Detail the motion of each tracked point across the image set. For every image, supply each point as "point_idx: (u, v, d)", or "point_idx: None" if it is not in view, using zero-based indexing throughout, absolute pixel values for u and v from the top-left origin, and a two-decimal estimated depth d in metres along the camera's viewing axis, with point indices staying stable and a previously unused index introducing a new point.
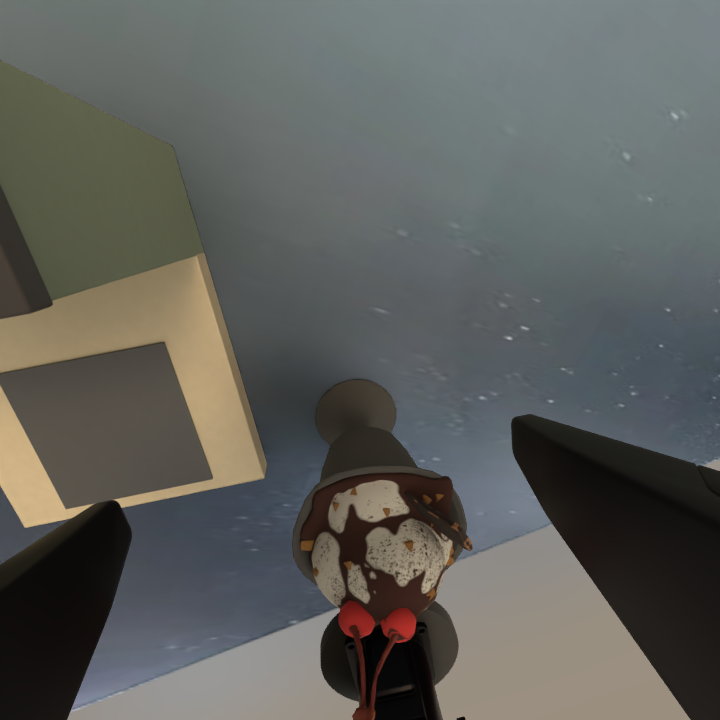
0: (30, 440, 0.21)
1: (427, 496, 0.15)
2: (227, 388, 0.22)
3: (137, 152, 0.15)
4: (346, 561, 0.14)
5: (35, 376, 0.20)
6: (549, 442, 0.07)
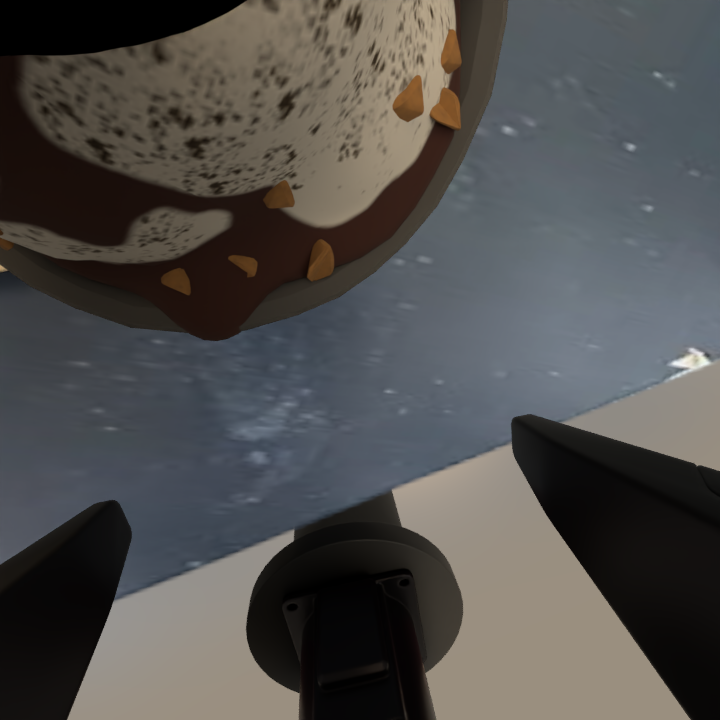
0: None
1: None
2: None
3: None
4: None
5: None
6: (549, 442, 0.07)
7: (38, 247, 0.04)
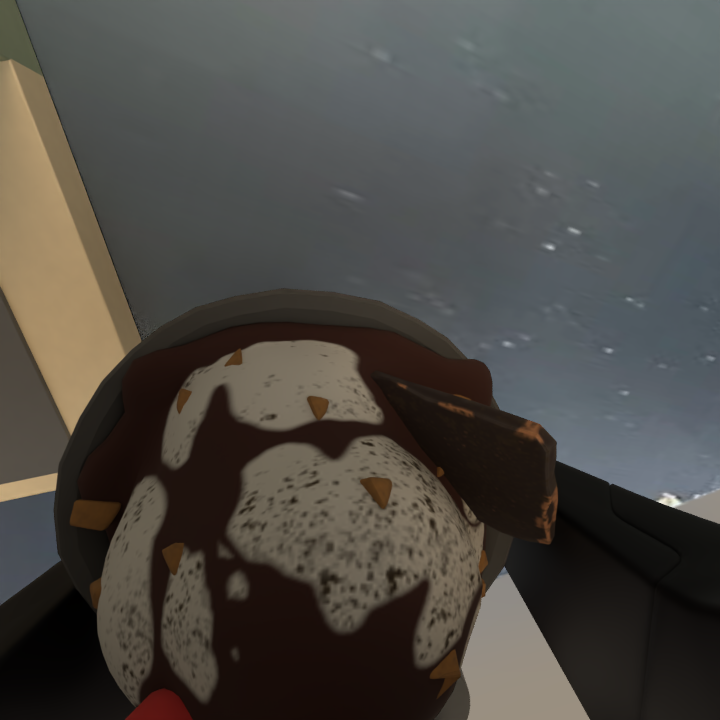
0: None
1: None
2: (92, 314, 0.13)
3: None
4: (172, 549, 0.04)
5: None
6: None
7: None
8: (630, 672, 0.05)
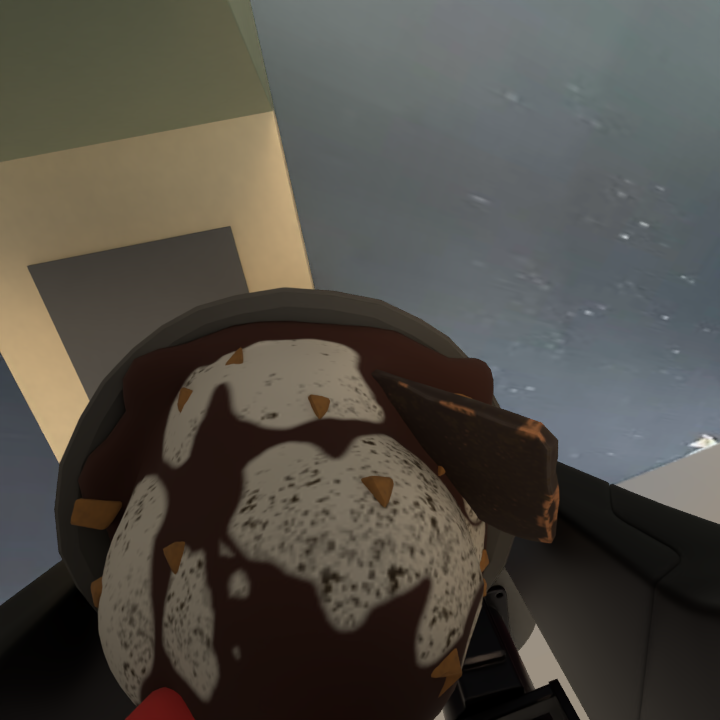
0: (68, 352, 0.18)
1: None
2: (302, 288, 0.18)
3: None
4: (173, 547, 0.04)
5: (75, 268, 0.17)
6: None
7: None
8: (630, 672, 0.05)
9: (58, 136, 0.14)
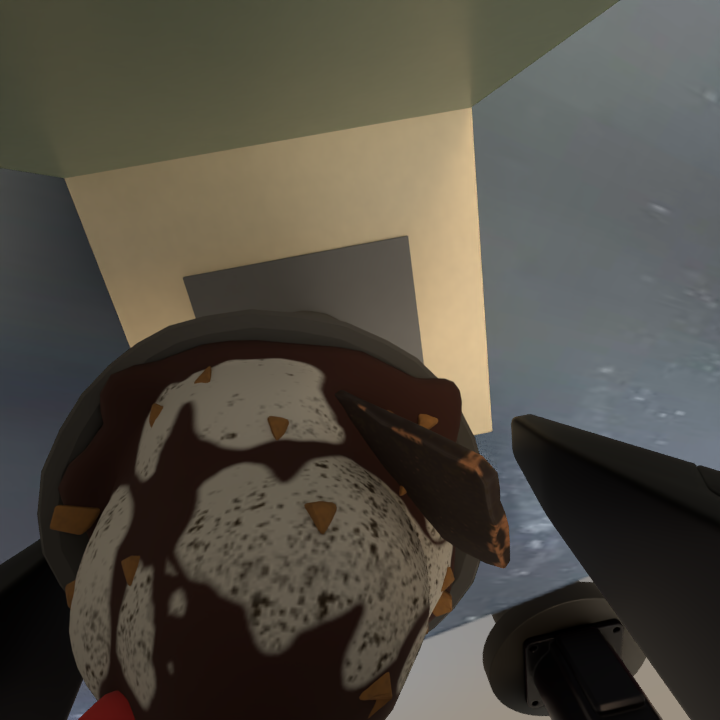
0: None
1: None
2: (473, 305, 0.16)
3: None
4: (132, 559, 0.04)
5: (235, 280, 0.15)
6: (549, 442, 0.07)
7: None
8: None
9: (257, 132, 0.12)
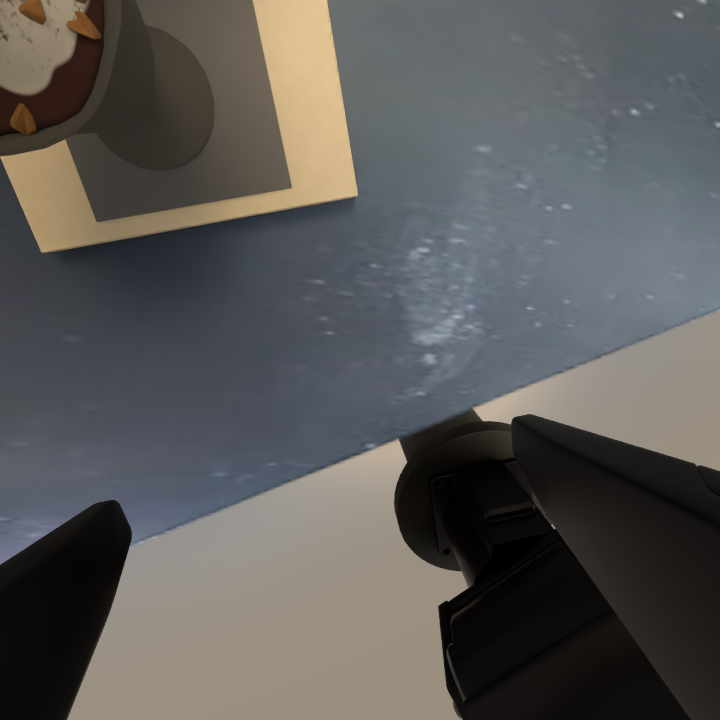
0: None
1: None
2: (320, 34, 0.16)
3: None
4: None
5: None
6: (549, 442, 0.07)
7: None
8: None
9: None
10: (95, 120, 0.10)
